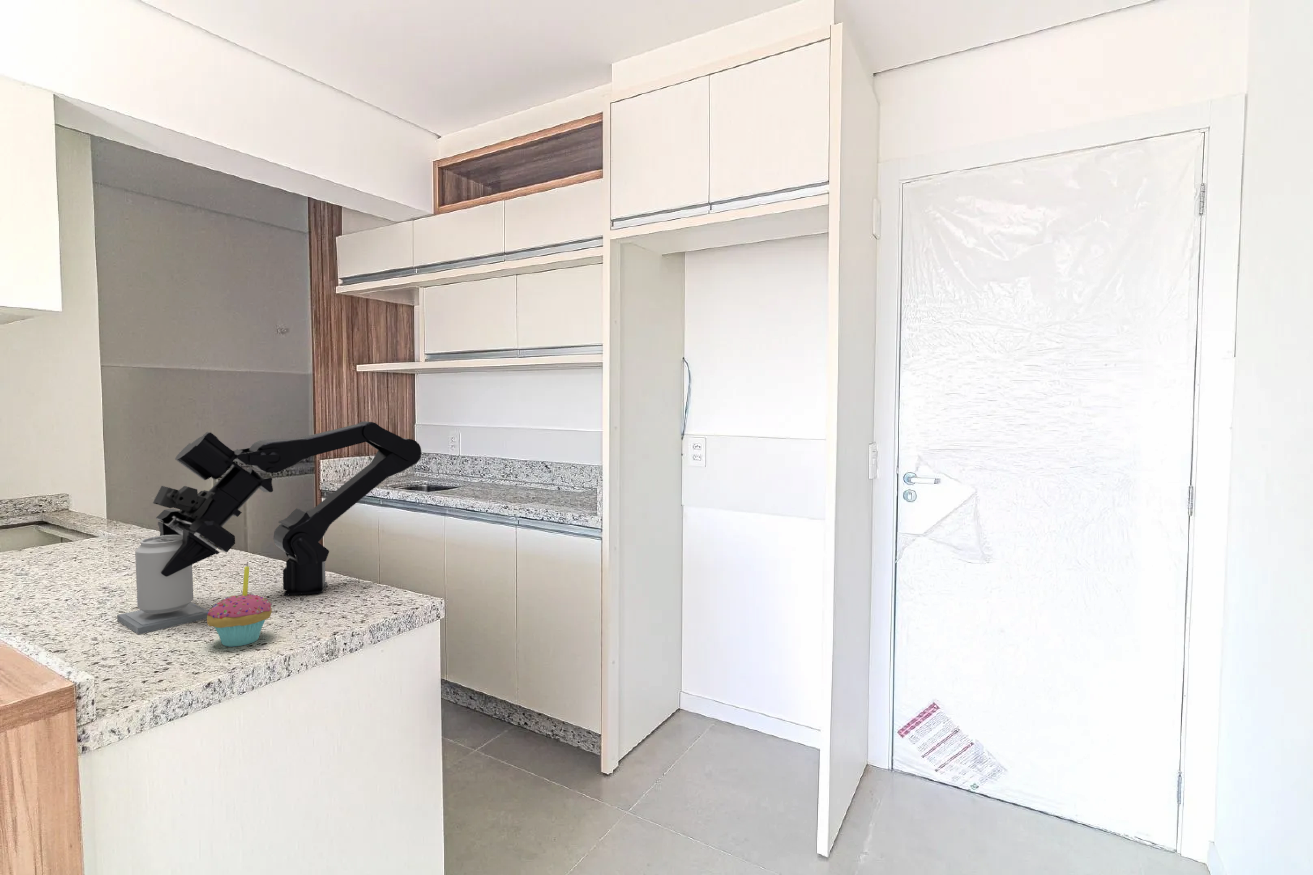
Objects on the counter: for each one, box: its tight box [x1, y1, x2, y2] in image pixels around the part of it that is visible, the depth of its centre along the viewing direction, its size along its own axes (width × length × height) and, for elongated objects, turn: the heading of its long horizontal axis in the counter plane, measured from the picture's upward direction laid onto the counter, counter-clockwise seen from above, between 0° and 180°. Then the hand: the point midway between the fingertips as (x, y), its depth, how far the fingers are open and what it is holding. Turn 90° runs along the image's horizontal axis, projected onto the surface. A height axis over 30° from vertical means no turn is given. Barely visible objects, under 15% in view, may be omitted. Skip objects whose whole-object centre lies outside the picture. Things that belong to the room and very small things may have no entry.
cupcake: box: [206, 560, 273, 648], centre depth 98 cm, size 9×8×12 cm
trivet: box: [116, 601, 210, 635], centre depth 107 cm, size 10×10×1 cm
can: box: [134, 535, 194, 614], centre depth 107 cm, size 8×8×12 cm
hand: (154, 570), depth 106 cm, fingers closed on can, 7 cm apart
